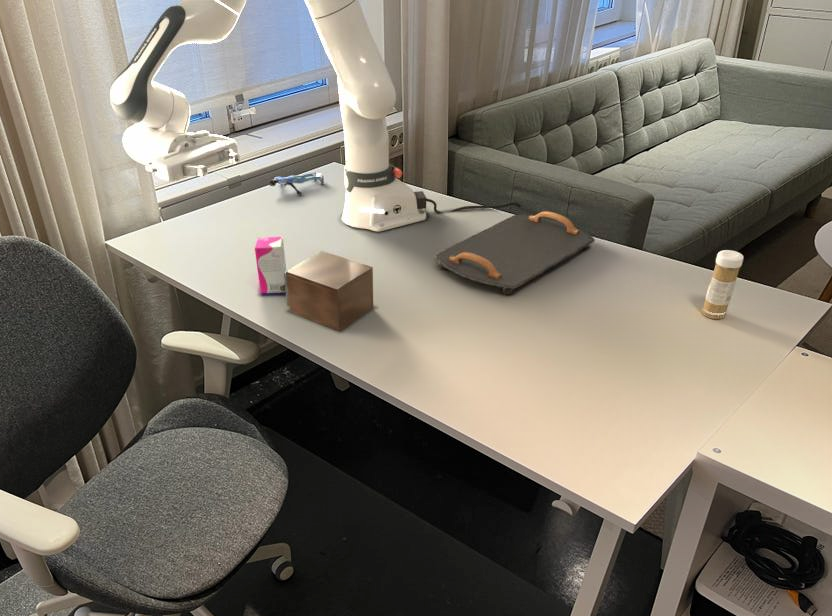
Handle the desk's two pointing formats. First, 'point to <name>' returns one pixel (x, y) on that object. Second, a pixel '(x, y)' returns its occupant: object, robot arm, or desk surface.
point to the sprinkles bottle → (722, 283)
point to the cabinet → (330, 290)
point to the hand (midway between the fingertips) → (221, 165)
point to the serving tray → (515, 250)
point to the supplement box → (270, 265)
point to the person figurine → (296, 180)
